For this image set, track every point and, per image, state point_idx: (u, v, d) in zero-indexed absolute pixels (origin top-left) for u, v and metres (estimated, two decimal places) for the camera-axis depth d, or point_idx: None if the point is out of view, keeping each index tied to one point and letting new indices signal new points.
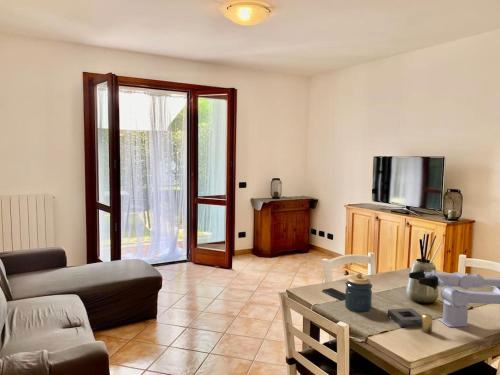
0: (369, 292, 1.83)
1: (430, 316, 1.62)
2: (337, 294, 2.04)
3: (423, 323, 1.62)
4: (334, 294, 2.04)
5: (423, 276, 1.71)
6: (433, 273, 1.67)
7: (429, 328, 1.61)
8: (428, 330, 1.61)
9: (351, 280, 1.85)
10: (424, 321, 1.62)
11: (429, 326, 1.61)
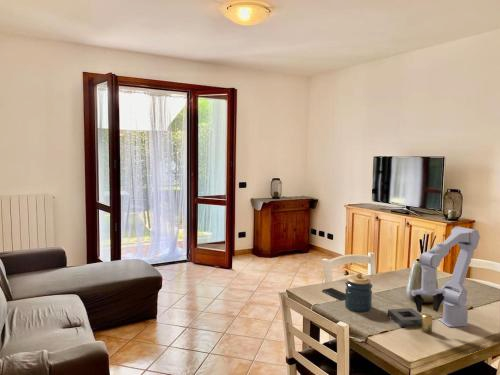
0: (369, 292, 1.83)
1: (430, 316, 1.62)
2: (337, 294, 2.04)
3: (423, 323, 1.62)
4: (334, 294, 2.04)
5: None
6: None
7: (429, 328, 1.61)
8: (428, 330, 1.61)
9: (351, 280, 1.85)
10: (424, 321, 1.62)
11: (429, 326, 1.61)
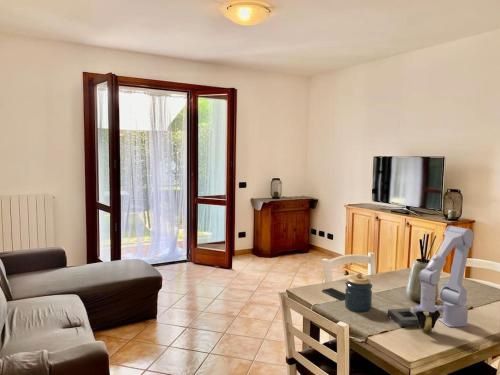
0: (369, 292, 1.83)
1: (430, 316, 1.62)
2: (337, 294, 2.04)
3: None
4: (334, 294, 2.04)
5: None
6: None
7: (429, 328, 1.61)
8: (428, 330, 1.61)
9: (351, 280, 1.85)
10: None
11: (429, 326, 1.61)
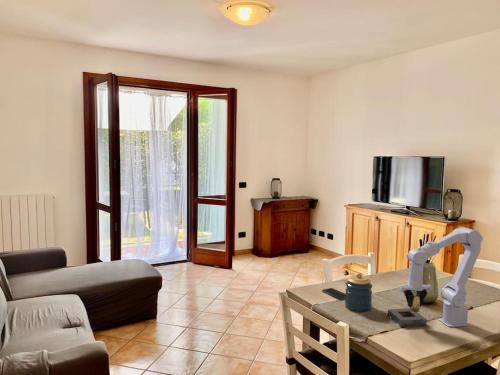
0: (369, 292, 1.83)
1: (418, 295, 1.67)
2: (337, 294, 2.04)
3: (412, 302, 1.67)
4: (334, 294, 2.04)
5: None
6: None
7: (417, 307, 1.67)
8: (416, 309, 1.67)
9: (351, 280, 1.85)
10: (413, 300, 1.67)
11: (417, 305, 1.67)
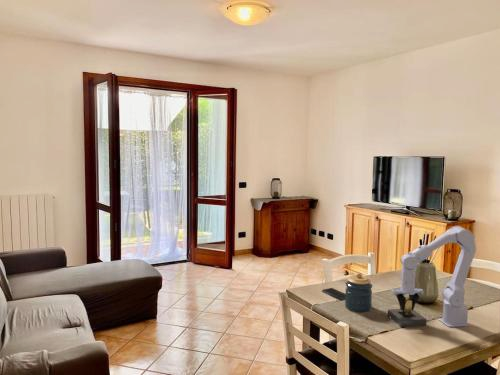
0: (369, 292, 1.83)
1: (410, 299, 1.72)
2: (337, 294, 2.04)
3: (404, 306, 1.72)
4: (334, 294, 2.04)
5: None
6: None
7: (409, 310, 1.71)
8: (408, 312, 1.71)
9: (351, 280, 1.85)
10: (405, 304, 1.71)
11: (409, 308, 1.71)
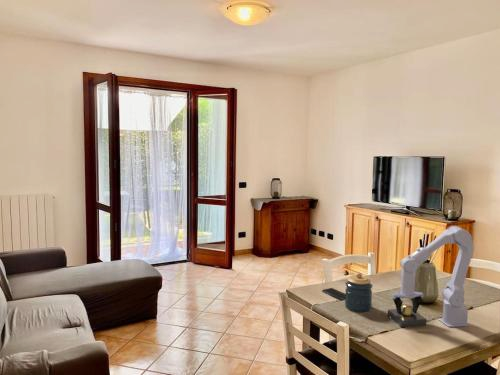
0: (369, 292, 1.83)
1: (410, 306, 1.72)
2: (337, 294, 2.04)
3: (404, 313, 1.72)
4: (334, 294, 2.04)
5: None
6: None
7: None
8: None
9: (351, 280, 1.85)
10: (404, 311, 1.72)
11: (409, 316, 1.71)
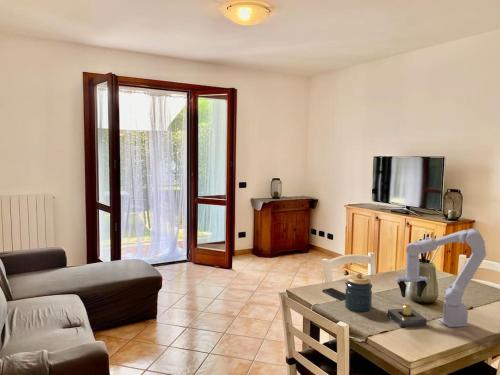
0: (369, 292, 1.83)
1: (410, 306, 1.72)
2: (337, 294, 2.04)
3: (404, 313, 1.72)
4: (334, 294, 2.04)
5: None
6: None
7: None
8: None
9: (351, 280, 1.85)
10: (404, 311, 1.72)
11: (409, 316, 1.71)
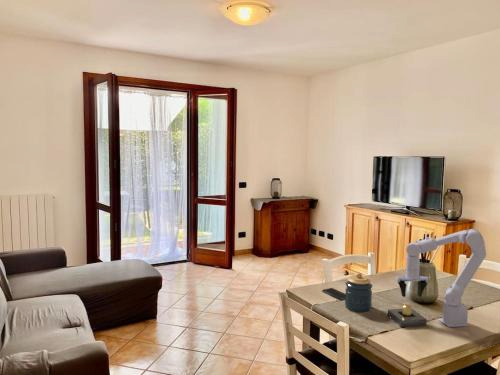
0: (369, 292, 1.83)
1: (410, 306, 1.72)
2: (337, 294, 2.04)
3: (404, 313, 1.72)
4: (334, 294, 2.04)
5: None
6: None
7: None
8: None
9: (351, 280, 1.85)
10: (405, 311, 1.72)
11: (409, 316, 1.71)
